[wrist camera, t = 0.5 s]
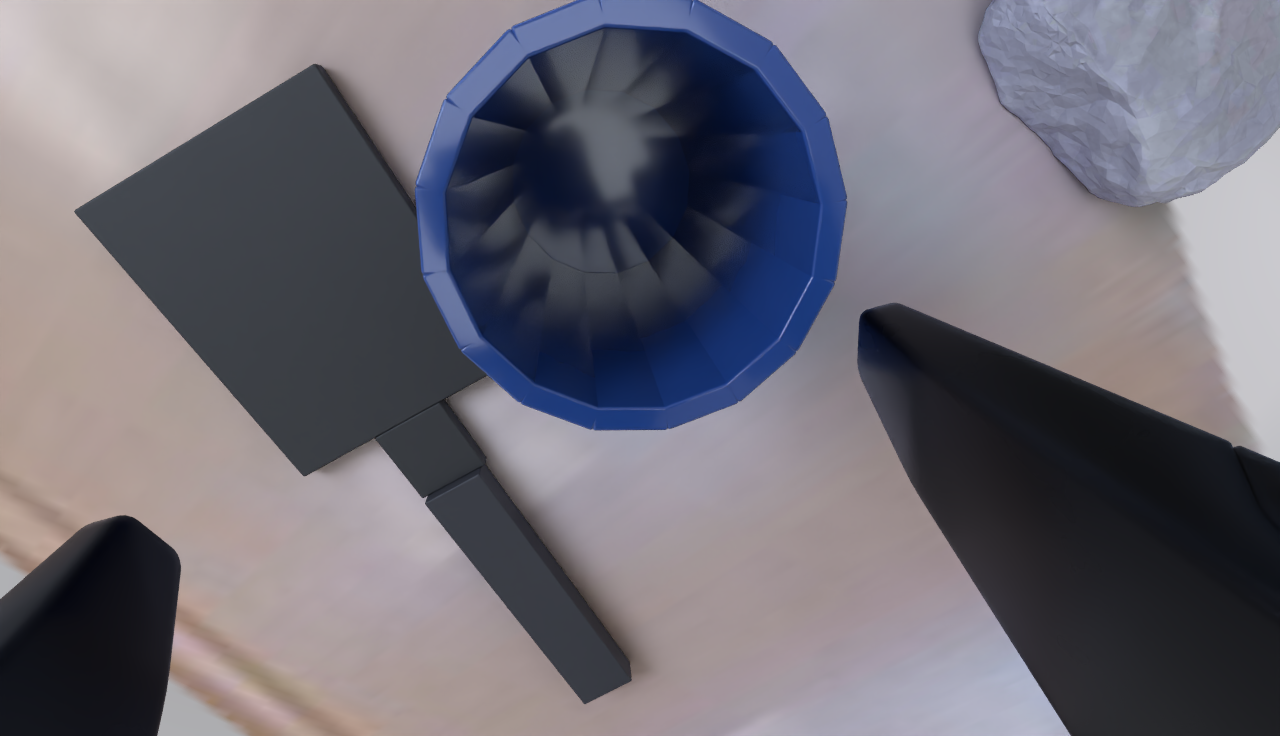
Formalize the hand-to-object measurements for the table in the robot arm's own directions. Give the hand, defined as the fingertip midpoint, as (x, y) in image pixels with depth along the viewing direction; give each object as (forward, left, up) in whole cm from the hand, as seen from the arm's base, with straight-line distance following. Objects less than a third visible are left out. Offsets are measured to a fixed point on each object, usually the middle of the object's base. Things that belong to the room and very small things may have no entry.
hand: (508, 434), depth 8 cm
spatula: (-9, +1, -15) cm, 18 cm away
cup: (+3, -1, -15) cm, 16 cm away
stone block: (+16, -15, -16) cm, 27 cm away
